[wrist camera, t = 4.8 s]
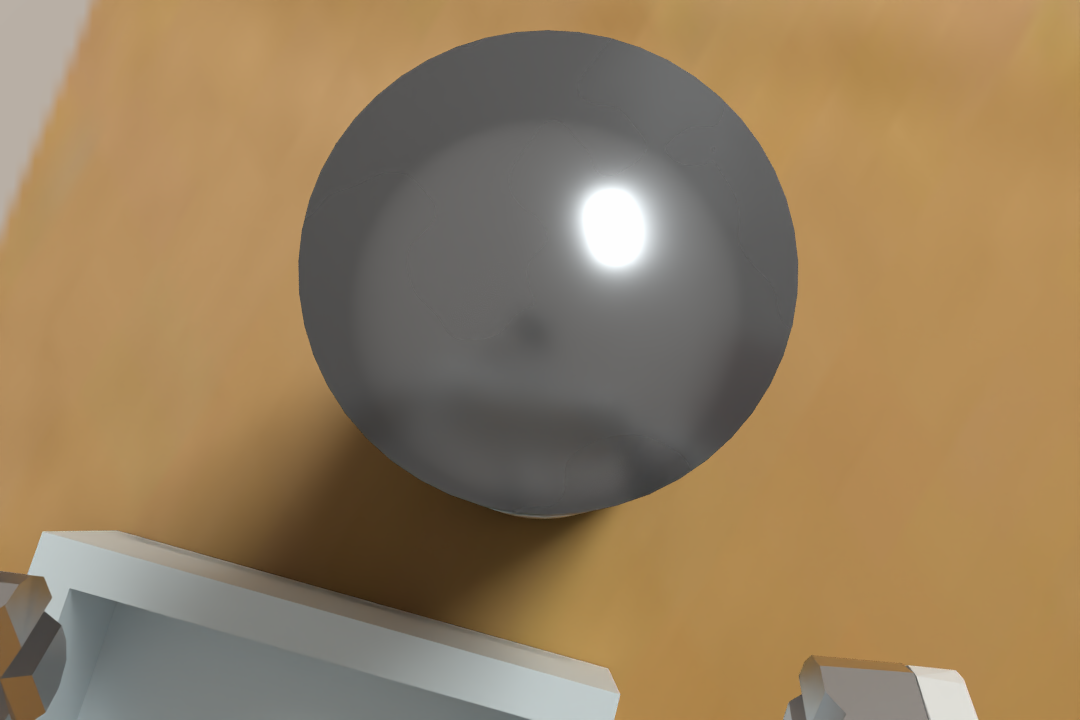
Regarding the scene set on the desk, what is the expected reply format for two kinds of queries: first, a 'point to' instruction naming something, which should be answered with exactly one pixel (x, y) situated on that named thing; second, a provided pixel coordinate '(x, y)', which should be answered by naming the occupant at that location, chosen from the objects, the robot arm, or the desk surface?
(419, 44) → the desk surface
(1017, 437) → the desk surface
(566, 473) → the tin
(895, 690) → the robot arm
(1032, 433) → the desk surface
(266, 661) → the tray
